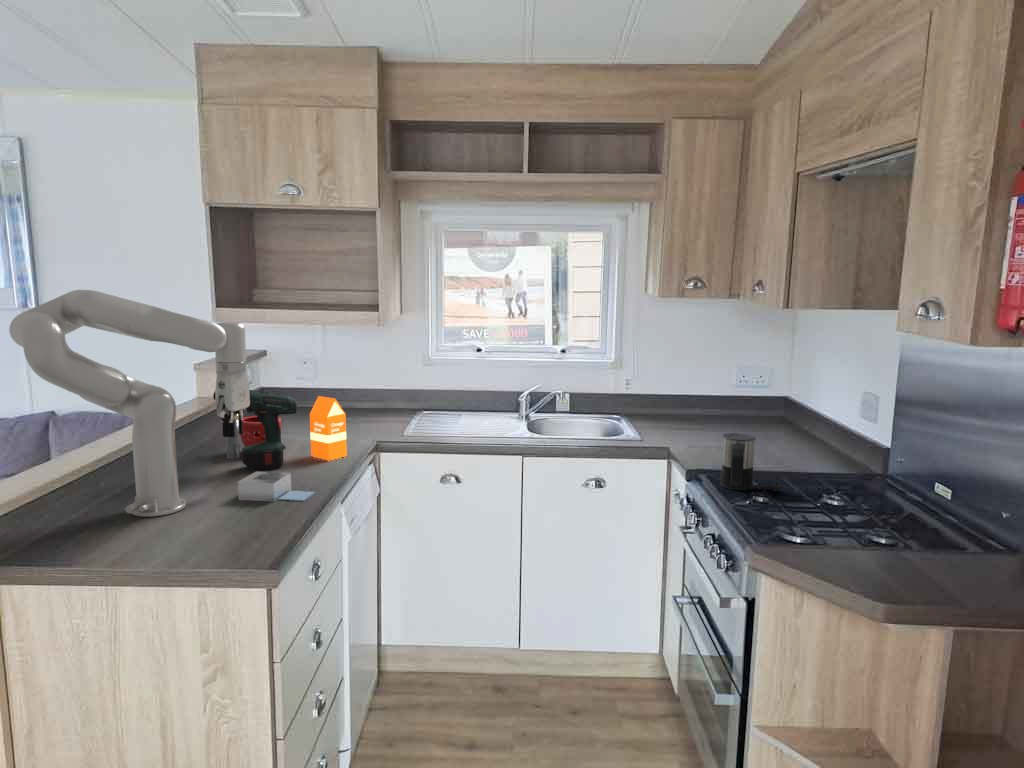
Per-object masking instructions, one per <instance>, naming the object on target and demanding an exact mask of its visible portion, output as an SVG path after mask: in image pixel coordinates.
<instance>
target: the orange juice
mask: <svg viewBox="0 0 1024 768" xmlns="http://www.w3.org/2000/svg"><path fill="white" fill-rule="evenodd" d="M312 406H313V407H312V409H311V411H310V412H309V428H310V432H309V433H310V434H309V436H310V438H309V439H310V452H311V453H310V454H311V455H310V457H311V456H313V457H317V458H321V459H325V460H328V461H327V462H330V461H329V460H333V461H335V460H334V459H337V460H339V459H338V458H340V459H342V458H341V457H344V458H346V457H345V456H347V457H348V454H347V453H348V452H347V451H348V450H347V420H346V419H347V417H346V412H345V411H344V410H343V408H342V406H341V405H340V404H339V402H338V401H337V399H336V398H333V397H326V396H320V395H318V396H317V398H316V400H315V402H314V405H312Z"/></svg>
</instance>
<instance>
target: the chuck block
mask: <svg viewBox="0 0 1024 768" xmlns="http://www.w3.org/2000/svg"><path fill="white" fill-rule="evenodd" d="M291 474H292V473H291V472H279V471H278V472H276V471H261V470H258V471H253V473H251V474H249V475H247V476H246V477H244V478H242V479H240V480H238V481H237V492H238V500H239V501H250V502H252V501H254V502H268V503H269V502H270V503H271V502H272V503H275V502H276V501H279V498H280V497H282V496H283V495H285V494H286V493H288V492H289V491H292V475H291Z"/></svg>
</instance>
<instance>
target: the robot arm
mask: <svg viewBox="0 0 1024 768" xmlns="http://www.w3.org/2000/svg"><path fill="white" fill-rule="evenodd" d="M82 327H88V328H92V329H96V330H101V331H106V332H109V333H114V334H119V335H122V336H127V337H132V338H135V339H138V340H139V339H140V340H145V341H149V342H159V343H166V344H171V345H175V346H176V345H177V346H182V347H187V348H188V349H191V350H194V351H200V352H201V351H202V352H206V353H215V374H216V379H215V391H214V392H215V400H214V402H215V409H216V410H217V411H216V416H217V417H219V418H220V420H221V421H220V422H221V424H222V436H223V437H224V438H227V437H235V422H233V413H238V414H239V435H240V434H242V433H243V425H242V419H243V418H244V413H245V410H247V409H246V408H247V407H249V405H250V394H249V390H250V386H249V385H250V383H249V378H248V373H247V353H246V352H247V351H246V348H247V347H246V346H247V345H246V327H245V324H243V323H242V322H237V321H220V322H212V321H208V320H205V319H201V318H197V317H194V316H189V315H186V314H181V313H178V312H174V311H170V310H167V309H164V308H161V307H157V306H154V305H150V304H146V303H142V302H138V301H135V300H131V299H127V298H123V297H120V296H116V295H112V294H108V293H105V292H101V291H98V290H92V289H75V290H72V291H68V292H66V293H65V294H61V295H60V296H57V297H56V298H53V299H51V300H48V301H46V302H44V303H41V304H39V305H37V306H34V307H33V308H30V309H27V310H24V311H23V312H21V313H19V314H17V315H16V316H15V317H13V319H12V320H11V322H10V325H9V328H8V329H9V335H10V337H11V338H12V341H14V343H16V344H17V345H18V346H20V347H22V349H23V352H24V353H23V354H24V356H25V361H26V362H27V364H28V365H29V367H30V369H31V370H32V371H33V373H34V374H36V375H37V376H39V378H41V379H42V380H44V381H46V382H47V383H50V384H52V385H54V386H57V387H59V388H61V389H63V390H66V391H68V392H70V393H72V394H75V395H77V396H79V397H80V398H82V399H83V400H84V401H86V402H89V403H91V404H94V405H97V406H100V407H101V408H104V409H106V410H110V411H112V412H114V413H118V414H119V415H122V416H125V417H126V418H130V419H132V420H133V421H132V423H133V425H132V433H131V434H132V435H131V438H132V439H131V442H132V454H133V455H132V456H133V468H134V477H135V478H134V479H135V481H134V482H135V492H136V495H135V496H134V502H133V503H131V504H129V505H127V506H126V507H125V508H124V509H125V512H126V514H131V515H133V516H135V517H143V518H145V517H147V518H148V517H152V518H153V517H159V516H161V517H162V516H166V515H170V514H174V513H178V512H180V511H181V510H183V509H184V508H186V506H187V500H186V499H185V498H181V497H180V492H179V478H178V475H179V474H178V465H177V464H178V462H177V448H176V435H175V434H176V433H175V432H176V428H175V427H176V416H177V405H176V401H175V399H174V397H173V396H172V394H171V393H170V392H169V391H168V390H166V389H165V388H163V387H161V386H157V385H154V384H149V383H146V382H144V381H141V380H139V379H136V378H135V377H132V376H129V375H127V374H124V373H123V372H122V371H121V370H119V369H117V368H115V367H112V366H110V365H106V364H102V363H100V362H98V361H95V360H92V359H90V358H88V357H87V356H84V355H82V354H80V353H79V352H76V351H74V350H73V349H71V347H70V346H69V345H68V343H67V341H66V335H68V334H70V333H72V332H74V331H76V330H78V329H80V328H82ZM228 413H229V416H228Z"/></svg>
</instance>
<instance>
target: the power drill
mask: <svg viewBox="0 0 1024 768" xmlns="http://www.w3.org/2000/svg"><path fill="white" fill-rule="evenodd" d="M249 394H250V405H249V407H247V408H246V409H245V410H246V411H247V413H248V414H254V415H255V416H257V418H258V420H257V421H258V422H261V423H262V424H263V425H264V430H265V441H264V442H262V443H257V444H253V445H249V446H246V447H245V446H244V447H245V448H244V447H243V448H244V449H243V451H242V450H241V460H242V463H243V465H245V466H246V467H247V468H249V469H250V470H251V471H253V472H256V471H266V470H268V471H269V470H275V468H278V469H280V467H282V466H283V465H284V450H285V449H286V445H285V444H283V443H282V430H281V431H280V426H279V422H278V417H279V415H294V414H297V413H298V412H297V411H298V403H297V399H296V398H294V397H291V396H290V395H288V394H281V393H272V392H269V391H267V392H266V391H257V390H251V389H249ZM212 398H213V400H214V401H215V391H214V392H213V395H212Z"/></svg>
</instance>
